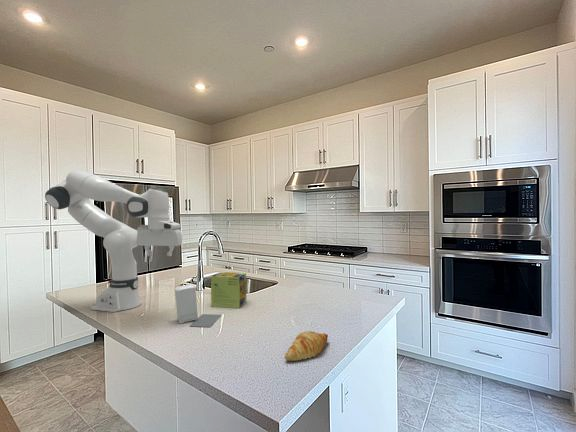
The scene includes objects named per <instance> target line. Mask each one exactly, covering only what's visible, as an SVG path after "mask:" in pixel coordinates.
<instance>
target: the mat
mask: <svg viewBox="0 0 576 432" xmlns="http://www.w3.org/2000/svg"><path fill="white" fill-rule="evenodd" d="M221 316H222V314H215V313H214V314H213V313H212V314H209V313H202V314H201V315H200V316H198V319H197V320H193V322H192V323H191V324H190V325H189V327H190V328H211V327H213V325H214V324H215V323H216V321H217V320H219V318H221Z"/></svg>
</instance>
